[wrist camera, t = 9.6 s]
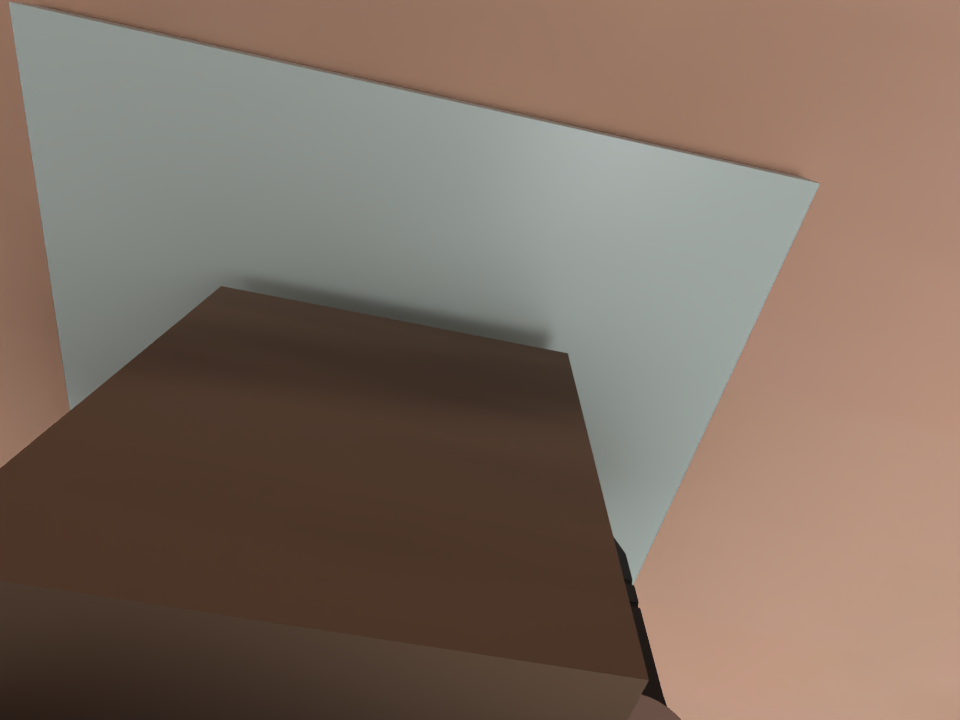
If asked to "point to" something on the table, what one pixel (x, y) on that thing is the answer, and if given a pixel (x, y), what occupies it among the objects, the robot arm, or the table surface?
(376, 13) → the table surface
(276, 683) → the cube
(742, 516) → the table surface
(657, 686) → the robot arm
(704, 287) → the pad
